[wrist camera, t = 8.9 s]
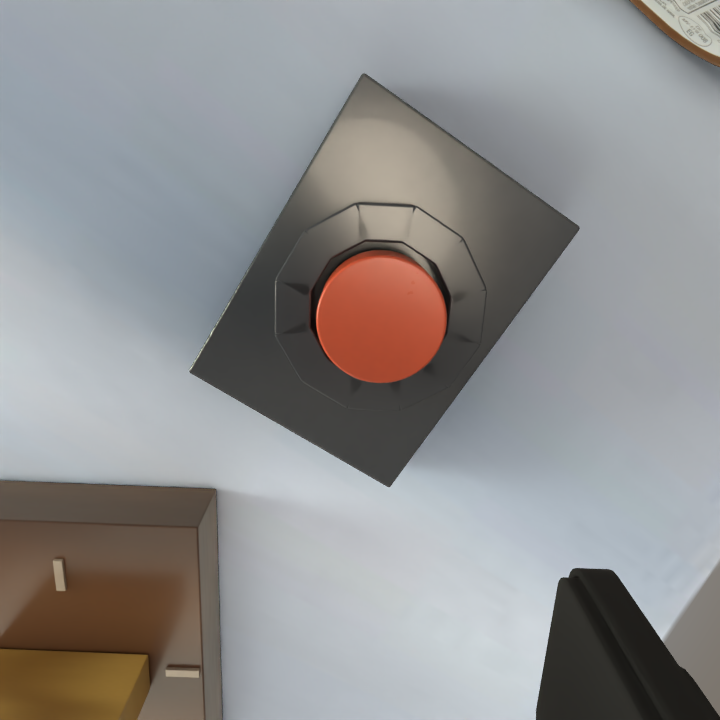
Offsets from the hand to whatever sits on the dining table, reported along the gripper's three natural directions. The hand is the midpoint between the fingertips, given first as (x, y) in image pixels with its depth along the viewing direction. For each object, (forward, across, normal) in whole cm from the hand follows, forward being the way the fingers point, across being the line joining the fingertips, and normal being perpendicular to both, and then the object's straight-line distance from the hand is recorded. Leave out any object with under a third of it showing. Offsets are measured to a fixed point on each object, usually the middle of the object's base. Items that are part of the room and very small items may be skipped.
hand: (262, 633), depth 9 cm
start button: (+11, -2, -3) cm, 12 cm away
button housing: (+15, -2, -3) cm, 15 cm away
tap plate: (+15, +10, +13) cm, 22 cm away
